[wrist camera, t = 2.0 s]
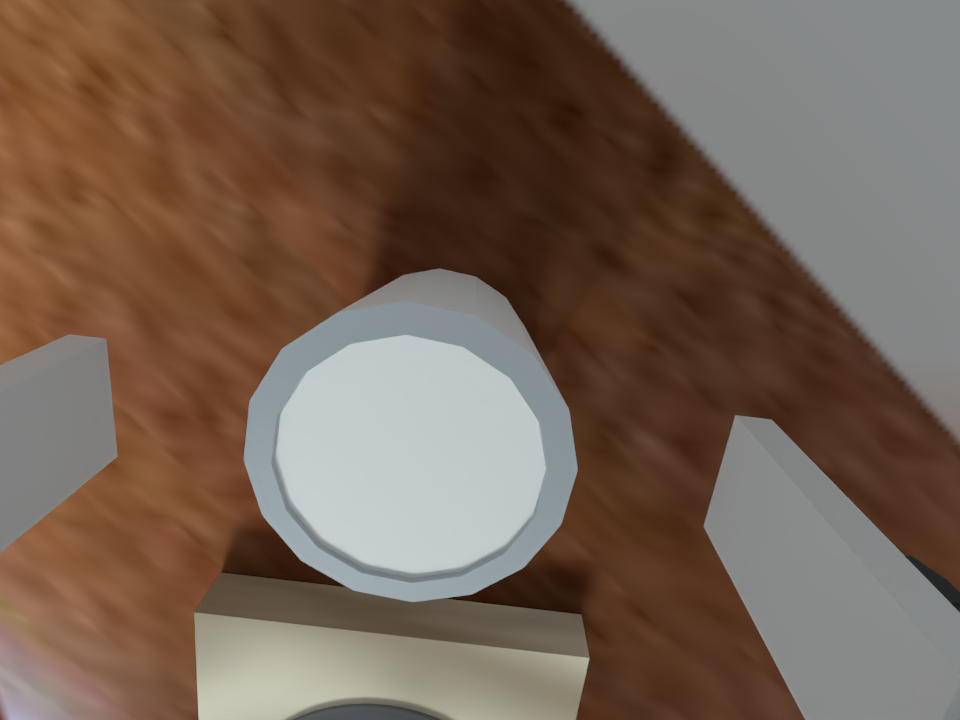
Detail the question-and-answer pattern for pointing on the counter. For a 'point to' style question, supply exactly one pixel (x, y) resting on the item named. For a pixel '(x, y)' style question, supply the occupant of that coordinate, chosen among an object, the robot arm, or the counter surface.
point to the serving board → (380, 656)
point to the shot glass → (413, 441)
